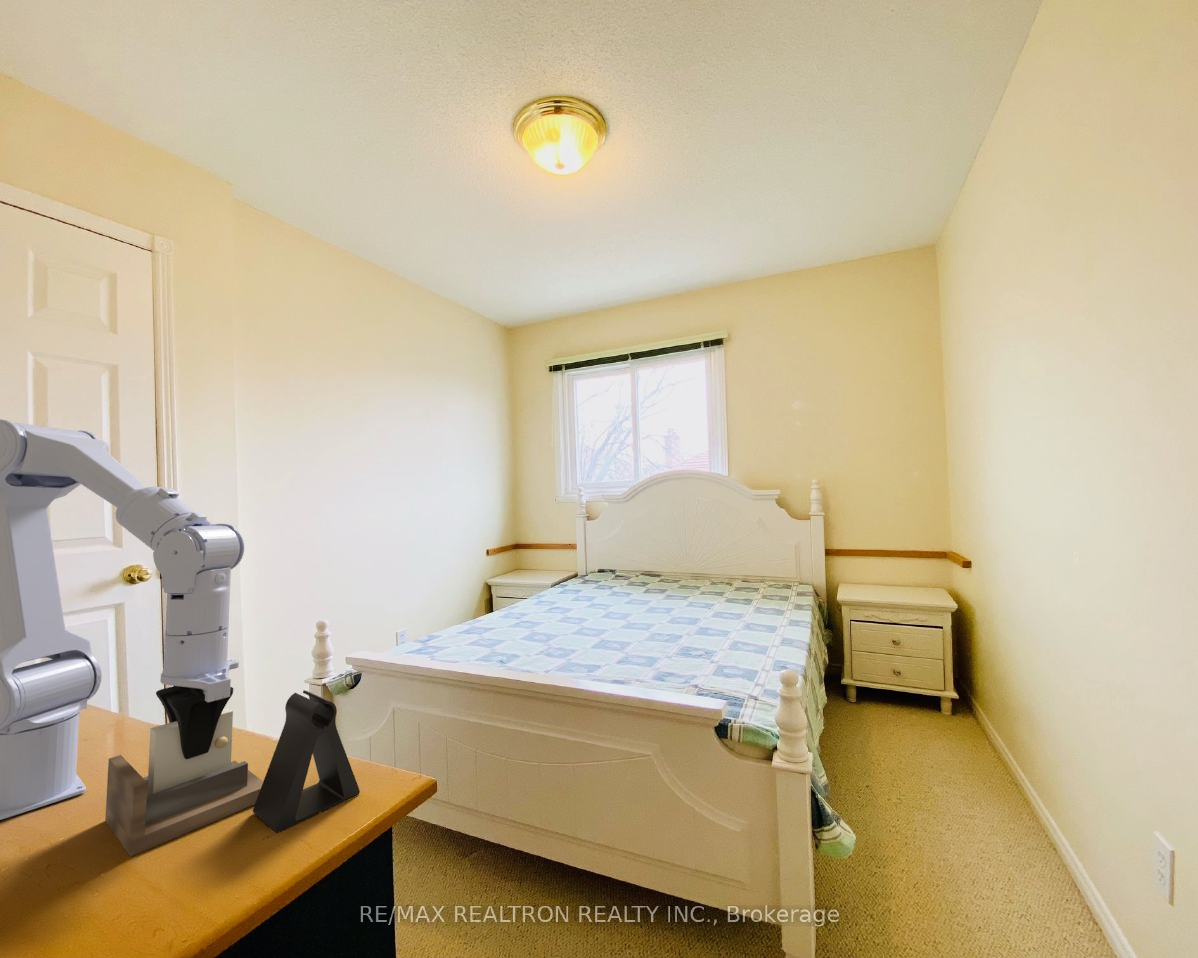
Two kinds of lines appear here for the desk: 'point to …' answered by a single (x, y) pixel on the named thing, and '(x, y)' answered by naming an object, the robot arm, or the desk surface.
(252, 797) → the brown base with rails
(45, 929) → the desk surface
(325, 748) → the phone stand
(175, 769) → the cabinet door
